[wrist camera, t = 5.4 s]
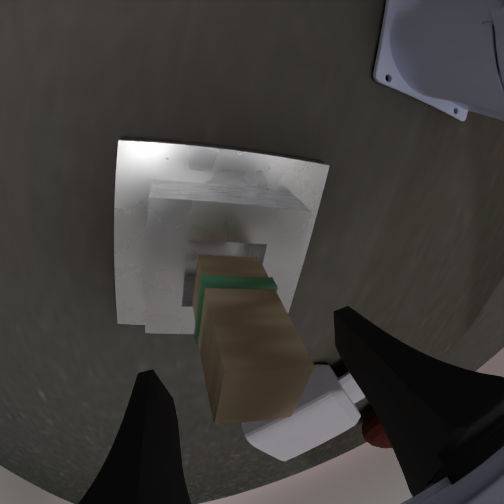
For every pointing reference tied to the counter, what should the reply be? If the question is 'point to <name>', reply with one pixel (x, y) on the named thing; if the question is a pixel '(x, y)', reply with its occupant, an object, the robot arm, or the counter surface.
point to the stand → (205, 222)
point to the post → (246, 342)
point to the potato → (375, 431)
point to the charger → (310, 416)
